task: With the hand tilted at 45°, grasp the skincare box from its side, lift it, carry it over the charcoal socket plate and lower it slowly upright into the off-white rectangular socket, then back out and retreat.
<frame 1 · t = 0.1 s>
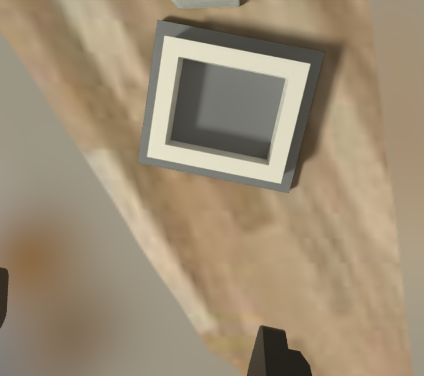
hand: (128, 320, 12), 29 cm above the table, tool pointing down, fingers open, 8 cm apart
socket plate: (226, 109, 39), on the table
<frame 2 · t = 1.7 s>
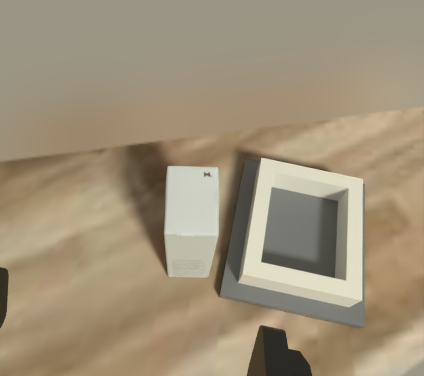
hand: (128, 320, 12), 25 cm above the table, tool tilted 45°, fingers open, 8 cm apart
socket plate: (296, 237, 41), on the table
skincare box: (188, 251, 40), on the table
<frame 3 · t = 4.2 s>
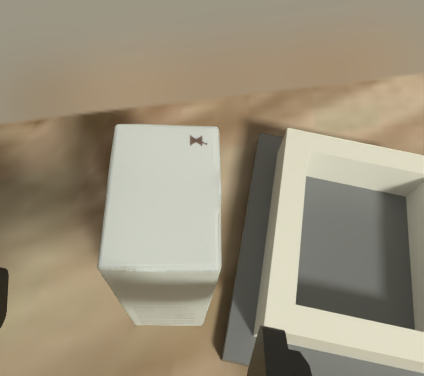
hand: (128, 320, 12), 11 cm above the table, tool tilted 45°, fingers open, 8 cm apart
socket plate: (343, 255, 26), on the table
skincare box: (170, 279, 24), on the table
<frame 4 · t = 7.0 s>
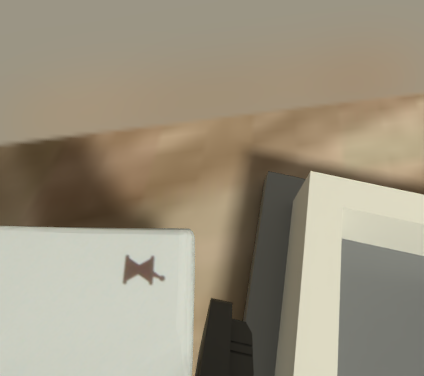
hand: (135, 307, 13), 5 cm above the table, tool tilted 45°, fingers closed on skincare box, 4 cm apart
socket plate: (393, 361, 17), on the table
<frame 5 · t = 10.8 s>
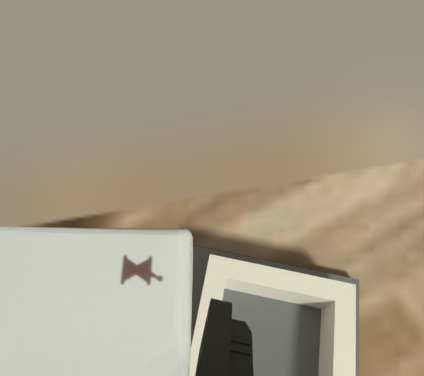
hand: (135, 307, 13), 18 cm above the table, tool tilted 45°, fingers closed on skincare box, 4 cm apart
socket plate: (261, 367, 29), on the table
when the fingers open (7 cm above the table, at t = 14.5 s): skincare box stays where it is, resting on socket plate.
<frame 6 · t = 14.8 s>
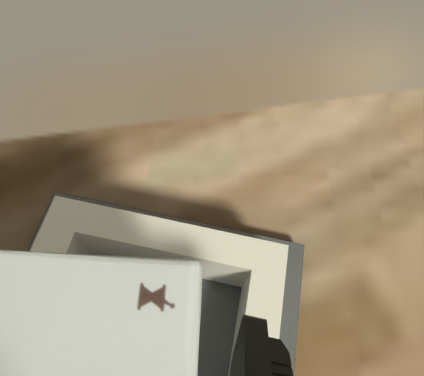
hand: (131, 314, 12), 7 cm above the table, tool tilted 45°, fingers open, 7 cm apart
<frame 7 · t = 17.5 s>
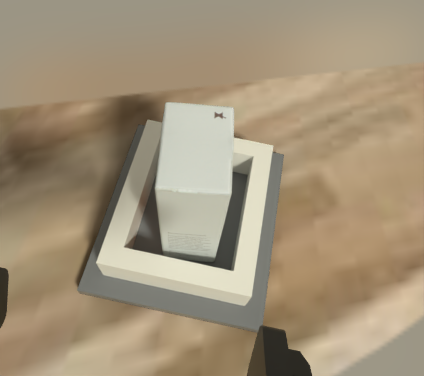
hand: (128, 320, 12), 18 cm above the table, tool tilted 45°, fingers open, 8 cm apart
socket plate: (192, 219, 33), on the table
skincare box: (190, 228, 32), point 1 cm above the table, touching socket plate
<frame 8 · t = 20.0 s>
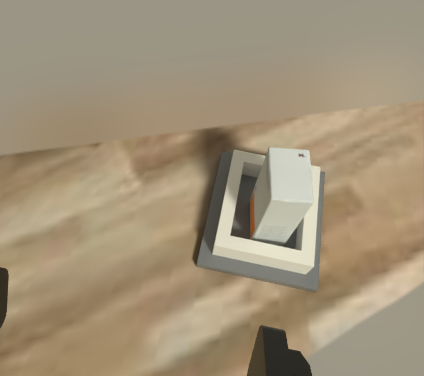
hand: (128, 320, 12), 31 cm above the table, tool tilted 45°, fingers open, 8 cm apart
socket plate: (264, 217, 48), on the table
skincare box: (265, 223, 47), point 1 cm above the table, touching socket plate
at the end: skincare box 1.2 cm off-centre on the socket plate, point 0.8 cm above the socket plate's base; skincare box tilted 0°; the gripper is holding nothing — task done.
